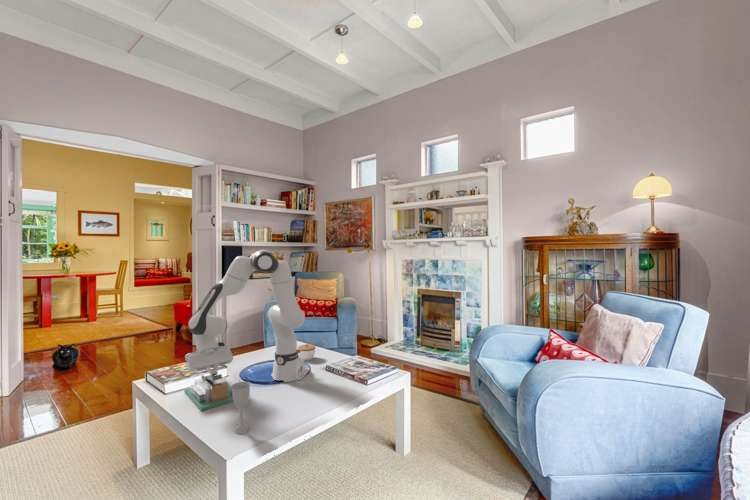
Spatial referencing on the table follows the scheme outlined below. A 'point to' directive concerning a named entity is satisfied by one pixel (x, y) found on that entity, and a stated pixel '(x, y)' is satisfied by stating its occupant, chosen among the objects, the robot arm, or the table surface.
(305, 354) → the lidded jar
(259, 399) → the table surface
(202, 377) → the heat sink
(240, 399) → the chalice
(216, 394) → the brown square block
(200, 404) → the circuit board
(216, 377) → the dark grey bar
